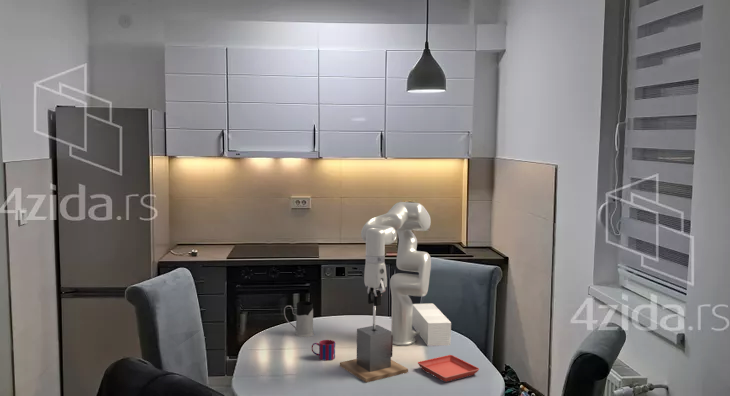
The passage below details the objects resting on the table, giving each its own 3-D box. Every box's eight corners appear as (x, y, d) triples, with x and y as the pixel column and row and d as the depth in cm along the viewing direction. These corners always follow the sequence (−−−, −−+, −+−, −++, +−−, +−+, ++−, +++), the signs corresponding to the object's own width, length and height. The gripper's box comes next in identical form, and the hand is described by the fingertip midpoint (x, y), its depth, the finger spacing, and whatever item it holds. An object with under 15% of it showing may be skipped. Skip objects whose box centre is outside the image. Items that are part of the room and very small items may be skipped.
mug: (333, 361, 262) (333, 345, 261) (310, 359, 263) (310, 343, 263) (336, 355, 268) (336, 340, 268) (313, 354, 270) (313, 338, 269)
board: (380, 357, 267) (380, 353, 267) (408, 372, 250) (408, 368, 250) (339, 366, 256) (339, 362, 256) (366, 382, 240) (366, 378, 239)
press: (383, 358, 262) (384, 323, 260) (397, 365, 254) (398, 330, 252) (356, 364, 255) (356, 328, 253) (369, 372, 246) (370, 335, 245)
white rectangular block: (450, 345, 284) (451, 322, 283) (427, 346, 282) (428, 323, 281) (432, 324, 315) (433, 303, 314) (411, 324, 314) (412, 303, 312)
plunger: (376, 339, 258) (377, 290, 256) (387, 345, 251) (388, 294, 249) (360, 343, 254) (360, 292, 251) (371, 349, 247) (371, 297, 245)
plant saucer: (480, 376, 248) (480, 368, 248) (444, 385, 239) (445, 377, 239) (450, 361, 264) (450, 354, 263) (416, 370, 254) (416, 362, 254)
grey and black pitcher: (312, 337, 292) (313, 306, 290) (282, 336, 292) (282, 305, 290) (314, 331, 300) (314, 301, 299) (285, 331, 301) (285, 300, 299)
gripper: (394, 262, 244) (393, 308, 246) (371, 254, 258) (371, 298, 260) (378, 264, 240) (378, 310, 242) (356, 256, 254) (355, 300, 255)
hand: (374, 304), depth 251 cm, fingers closed on plunger, 3 cm apart
